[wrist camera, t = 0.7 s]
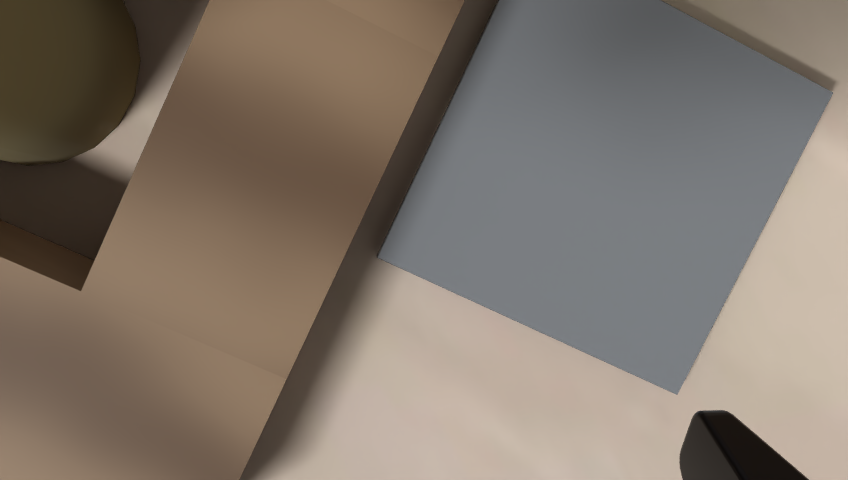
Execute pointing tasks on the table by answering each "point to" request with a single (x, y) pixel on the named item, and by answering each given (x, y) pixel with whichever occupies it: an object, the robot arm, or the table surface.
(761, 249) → the table surface
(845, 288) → the table surface
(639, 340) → the grey mat
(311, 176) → the walnut holder block
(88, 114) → the olive green pawn
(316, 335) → the table surface
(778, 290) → the table surface
